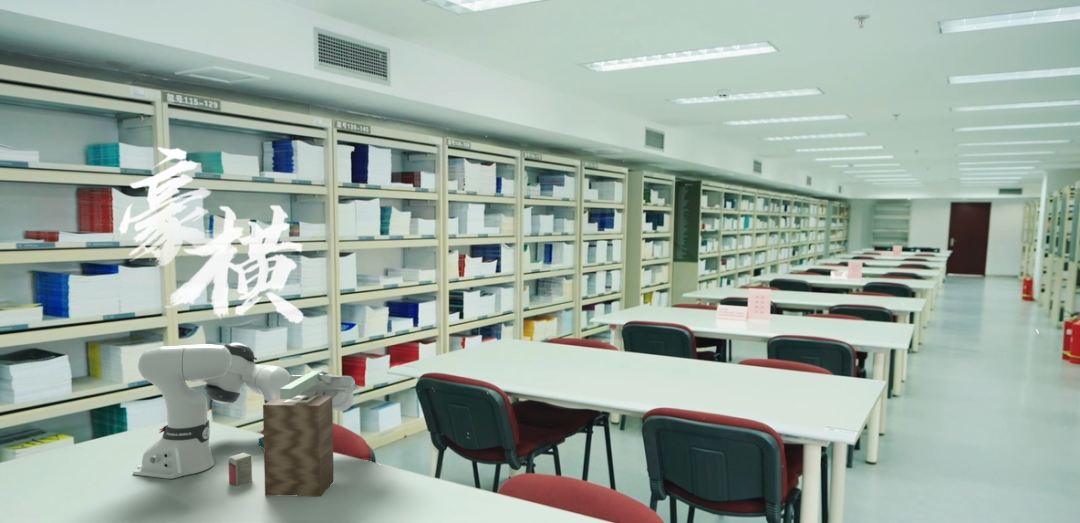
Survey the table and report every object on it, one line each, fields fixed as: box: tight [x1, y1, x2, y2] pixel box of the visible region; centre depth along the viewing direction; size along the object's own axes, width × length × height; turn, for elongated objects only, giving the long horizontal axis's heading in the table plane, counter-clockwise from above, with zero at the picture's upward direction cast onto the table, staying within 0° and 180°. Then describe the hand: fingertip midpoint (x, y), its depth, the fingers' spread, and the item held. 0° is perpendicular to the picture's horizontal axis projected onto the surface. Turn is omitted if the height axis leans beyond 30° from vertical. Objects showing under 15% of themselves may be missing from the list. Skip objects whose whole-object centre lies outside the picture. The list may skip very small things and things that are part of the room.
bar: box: [280, 370, 323, 399], centre depth 185 cm, size 3×22×3 cm, turn 177°
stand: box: [262, 395, 335, 497], centre depth 183 cm, size 16×10×26 cm, turn 87°
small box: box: [227, 452, 253, 487], centre depth 189 cm, size 5×4×8 cm
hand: (313, 376), depth 193 cm, fingers closed on bar, 3 cm apart
